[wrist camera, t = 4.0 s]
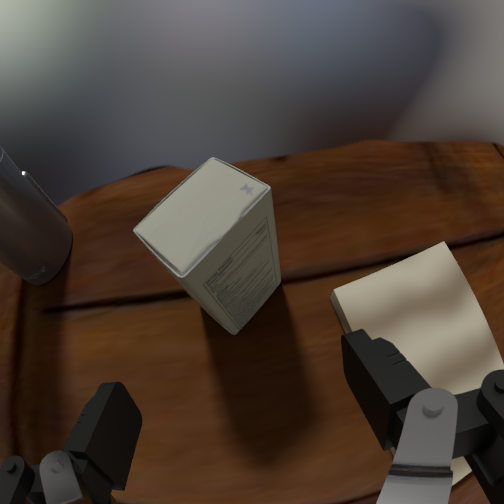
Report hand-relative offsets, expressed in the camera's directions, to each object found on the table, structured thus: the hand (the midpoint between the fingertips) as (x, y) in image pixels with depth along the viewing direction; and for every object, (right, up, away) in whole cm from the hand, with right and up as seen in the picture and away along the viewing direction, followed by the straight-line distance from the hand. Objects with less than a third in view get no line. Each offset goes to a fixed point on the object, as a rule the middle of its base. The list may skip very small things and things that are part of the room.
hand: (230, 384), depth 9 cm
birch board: (+16, -6, +9) cm, 19 cm away
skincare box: (0, +1, +15) cm, 15 cm away
